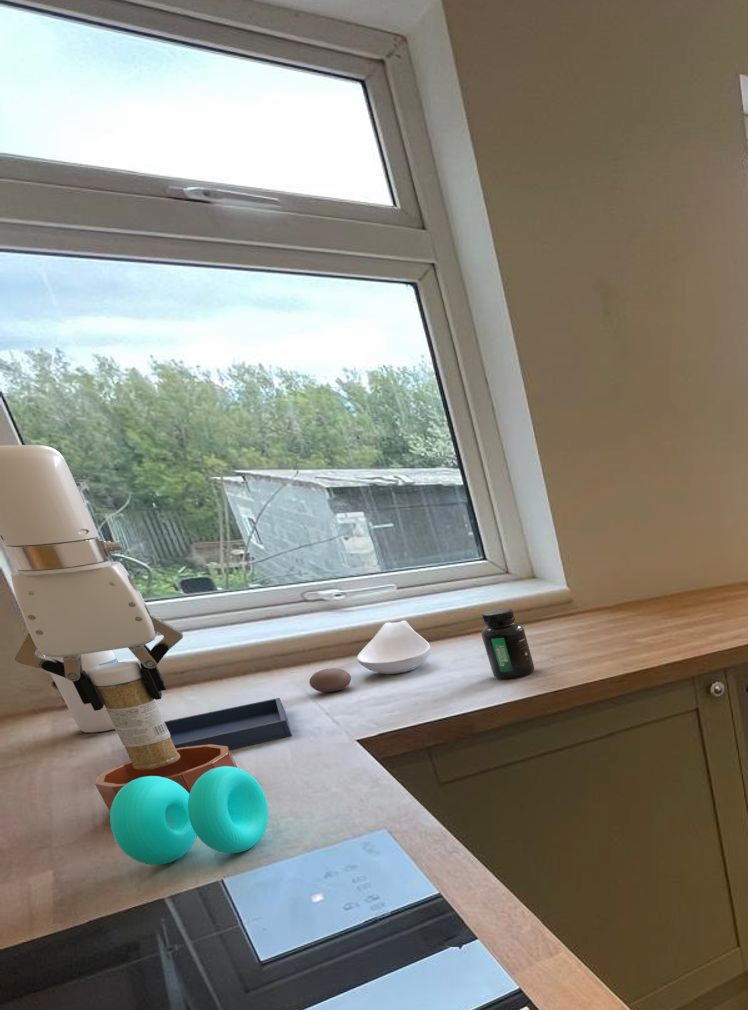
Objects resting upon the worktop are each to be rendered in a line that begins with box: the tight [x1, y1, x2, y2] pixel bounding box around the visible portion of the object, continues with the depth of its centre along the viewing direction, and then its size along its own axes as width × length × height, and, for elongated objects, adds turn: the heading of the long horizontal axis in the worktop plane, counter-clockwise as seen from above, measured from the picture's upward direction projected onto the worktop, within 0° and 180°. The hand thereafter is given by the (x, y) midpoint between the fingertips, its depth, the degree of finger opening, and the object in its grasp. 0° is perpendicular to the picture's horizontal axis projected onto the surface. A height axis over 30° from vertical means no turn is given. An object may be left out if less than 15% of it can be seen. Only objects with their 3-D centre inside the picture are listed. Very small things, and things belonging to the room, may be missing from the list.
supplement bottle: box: [481, 608, 535, 680], centre depth 150 cm, size 7×7×12 cm
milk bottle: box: [44, 650, 119, 733], centre depth 131 cm, size 8×8×20 cm
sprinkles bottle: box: [87, 660, 180, 770], centre depth 103 cm, size 5×5×13 cm
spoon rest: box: [356, 619, 431, 675], centre depth 161 cm, size 24×12×7 cm, turn 31°
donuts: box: [109, 766, 269, 866], centre depth 92 cm, size 10×10×10 cm
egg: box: [308, 667, 352, 693], centre depth 146 cm, size 6×6×4 cm
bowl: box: [95, 744, 239, 812], centre depth 106 cm, size 13×13×5 cm
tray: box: [164, 697, 293, 751], centre depth 127 cm, size 17×15×3 cm
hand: (128, 700), depth 102 cm, fingers closed on sprinkles bottle, 4 cm apart
